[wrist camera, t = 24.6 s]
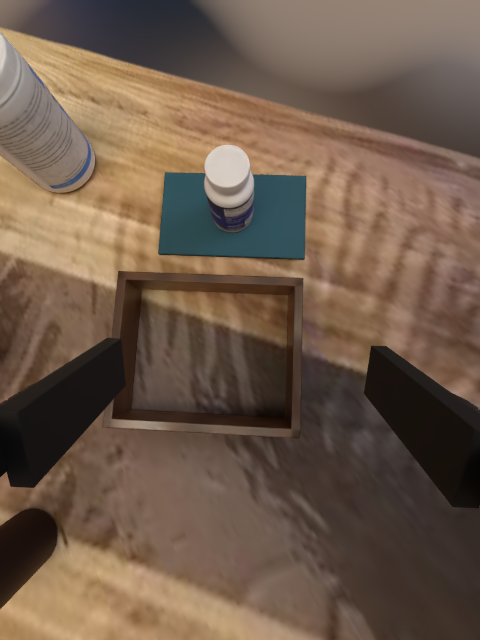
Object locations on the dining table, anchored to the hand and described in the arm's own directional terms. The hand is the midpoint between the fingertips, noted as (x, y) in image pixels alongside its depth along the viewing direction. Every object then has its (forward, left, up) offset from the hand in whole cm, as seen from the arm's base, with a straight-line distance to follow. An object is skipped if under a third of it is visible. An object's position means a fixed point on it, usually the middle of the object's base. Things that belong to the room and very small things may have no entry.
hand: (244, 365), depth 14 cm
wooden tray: (+5, -1, -21) cm, 22 cm away
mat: (+3, -20, -21) cm, 29 cm away
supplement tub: (+28, -27, -22) cm, 44 cm away
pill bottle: (+3, -20, -21) cm, 29 cm away
